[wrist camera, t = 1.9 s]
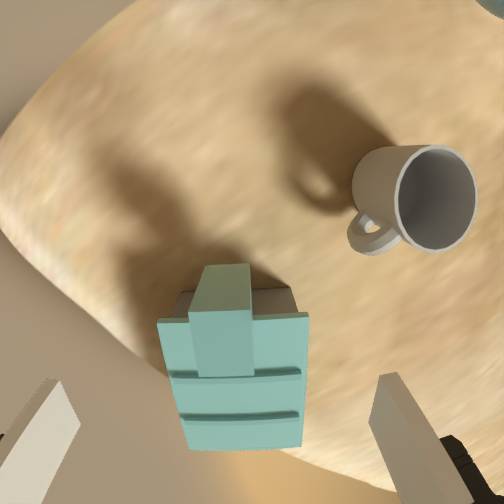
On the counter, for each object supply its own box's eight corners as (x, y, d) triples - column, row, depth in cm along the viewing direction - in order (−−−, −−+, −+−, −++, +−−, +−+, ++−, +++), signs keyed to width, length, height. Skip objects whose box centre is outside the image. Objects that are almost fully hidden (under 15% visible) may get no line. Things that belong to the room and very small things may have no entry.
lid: (150, 267, 21) (113, 312, 15) (307, 259, 21) (333, 304, 15) (190, 444, 27) (181, 498, 20) (300, 440, 27) (309, 496, 20)
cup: (431, 190, 26) (490, 205, 17) (360, 261, 28) (402, 302, 19) (387, 130, 25) (442, 122, 16) (310, 205, 26) (339, 226, 18)
